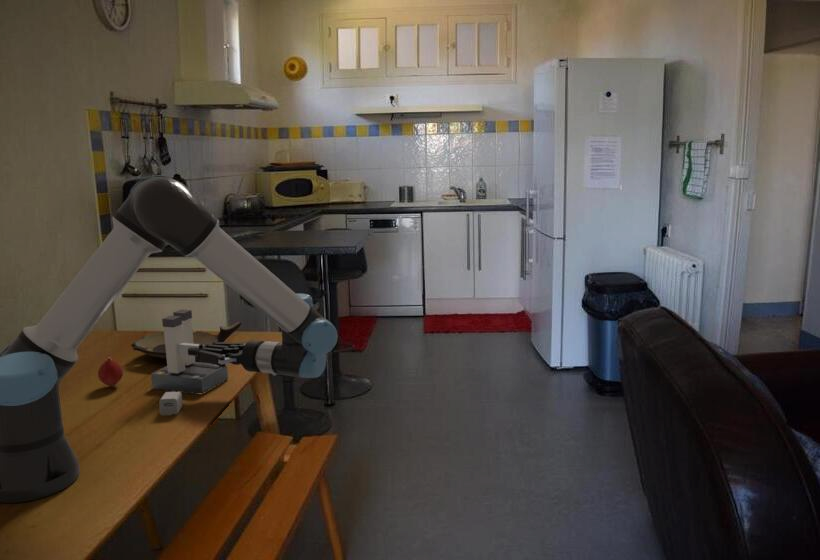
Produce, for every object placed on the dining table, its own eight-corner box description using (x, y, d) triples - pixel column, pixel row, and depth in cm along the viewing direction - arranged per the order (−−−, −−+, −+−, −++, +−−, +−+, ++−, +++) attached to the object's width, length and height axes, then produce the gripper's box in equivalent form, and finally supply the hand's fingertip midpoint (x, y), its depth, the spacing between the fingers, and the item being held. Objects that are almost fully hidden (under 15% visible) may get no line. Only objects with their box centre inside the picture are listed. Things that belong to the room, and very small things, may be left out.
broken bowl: (144, 347, 206) (142, 322, 204) (244, 341, 210) (243, 317, 208) (124, 371, 184) (121, 344, 183) (236, 365, 188) (234, 338, 186)
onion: (94, 388, 171) (91, 358, 169) (113, 381, 176) (110, 352, 174) (110, 392, 168) (106, 362, 167) (129, 385, 173) (126, 355, 172)
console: (202, 394, 166) (201, 379, 165) (152, 388, 171) (150, 373, 170) (228, 379, 176) (226, 364, 175) (180, 374, 181) (178, 359, 180)
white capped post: (188, 365, 174) (183, 313, 171) (177, 364, 175) (173, 312, 172) (195, 361, 177) (191, 310, 174) (185, 360, 178) (181, 309, 175)
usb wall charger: (160, 415, 154) (158, 399, 153) (168, 404, 160) (166, 388, 160) (178, 414, 154) (176, 398, 153) (185, 403, 161) (183, 387, 160)
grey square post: (177, 373, 168) (172, 319, 165) (167, 372, 169) (162, 318, 166) (186, 369, 171) (181, 316, 168) (175, 368, 172) (170, 315, 169)
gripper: (249, 381, 156) (164, 371, 163) (277, 363, 168) (198, 355, 175) (247, 350, 154) (162, 341, 162) (276, 334, 166) (195, 327, 174)
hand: (180, 348), depth 168 cm, fingers closed
